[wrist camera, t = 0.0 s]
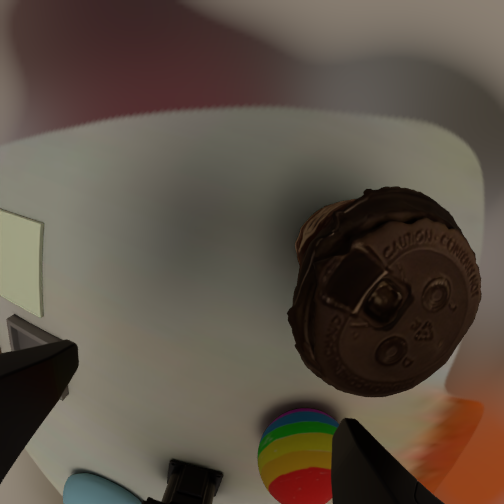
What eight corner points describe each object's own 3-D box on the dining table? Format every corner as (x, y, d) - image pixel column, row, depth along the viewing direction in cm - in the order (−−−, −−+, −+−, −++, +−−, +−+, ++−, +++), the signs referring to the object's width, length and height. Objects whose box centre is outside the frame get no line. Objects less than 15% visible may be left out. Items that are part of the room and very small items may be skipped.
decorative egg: (244, 414, 26) (232, 497, 16) (324, 384, 24) (341, 470, 15) (282, 458, 27) (280, 532, 17) (352, 433, 26) (370, 508, 16)
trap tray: (68, 393, 28) (62, 400, 26) (22, 367, 28) (16, 372, 26) (62, 340, 26) (54, 346, 24) (14, 314, 26) (6, 319, 24)
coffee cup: (266, 202, 21) (253, 227, 9) (373, 172, 20) (483, 164, 8) (298, 311, 23) (317, 435, 10) (397, 281, 22) (490, 368, 9)
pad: (43, 316, 25) (40, 317, 25) (-9, 287, 26) (-12, 288, 25) (43, 223, 23) (40, 223, 23) (-10, 205, 23) (-13, 205, 23)
